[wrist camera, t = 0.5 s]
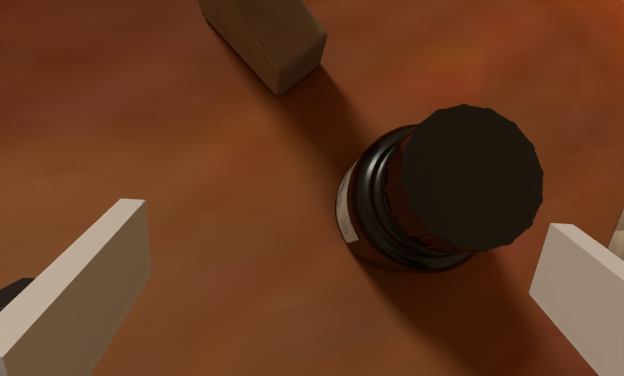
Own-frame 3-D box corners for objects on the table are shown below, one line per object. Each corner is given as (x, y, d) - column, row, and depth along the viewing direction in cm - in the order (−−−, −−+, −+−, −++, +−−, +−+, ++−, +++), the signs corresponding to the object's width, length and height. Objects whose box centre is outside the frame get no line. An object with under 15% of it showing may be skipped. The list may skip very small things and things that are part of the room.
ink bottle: (380, 125, 31) (448, 41, 20) (475, 193, 31) (600, 150, 20) (306, 228, 29) (332, 203, 18) (406, 302, 29) (501, 326, 17)
